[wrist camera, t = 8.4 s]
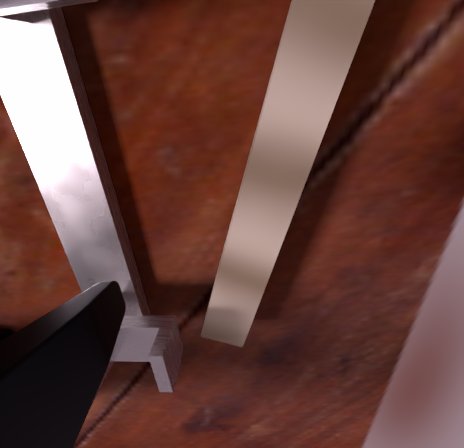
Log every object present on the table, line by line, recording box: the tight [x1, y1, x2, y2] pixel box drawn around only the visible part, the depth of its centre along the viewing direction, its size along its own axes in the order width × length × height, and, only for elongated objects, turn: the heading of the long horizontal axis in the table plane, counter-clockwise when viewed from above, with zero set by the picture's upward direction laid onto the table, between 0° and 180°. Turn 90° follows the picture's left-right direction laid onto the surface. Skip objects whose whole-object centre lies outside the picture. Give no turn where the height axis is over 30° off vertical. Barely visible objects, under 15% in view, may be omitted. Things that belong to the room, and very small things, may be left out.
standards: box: [0, 0, 184, 405], centre depth 14 cm, size 24×8×12 cm, turn 6°
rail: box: [200, 0, 375, 347], centre depth 17 cm, size 24×3×3 cm, turn 166°
